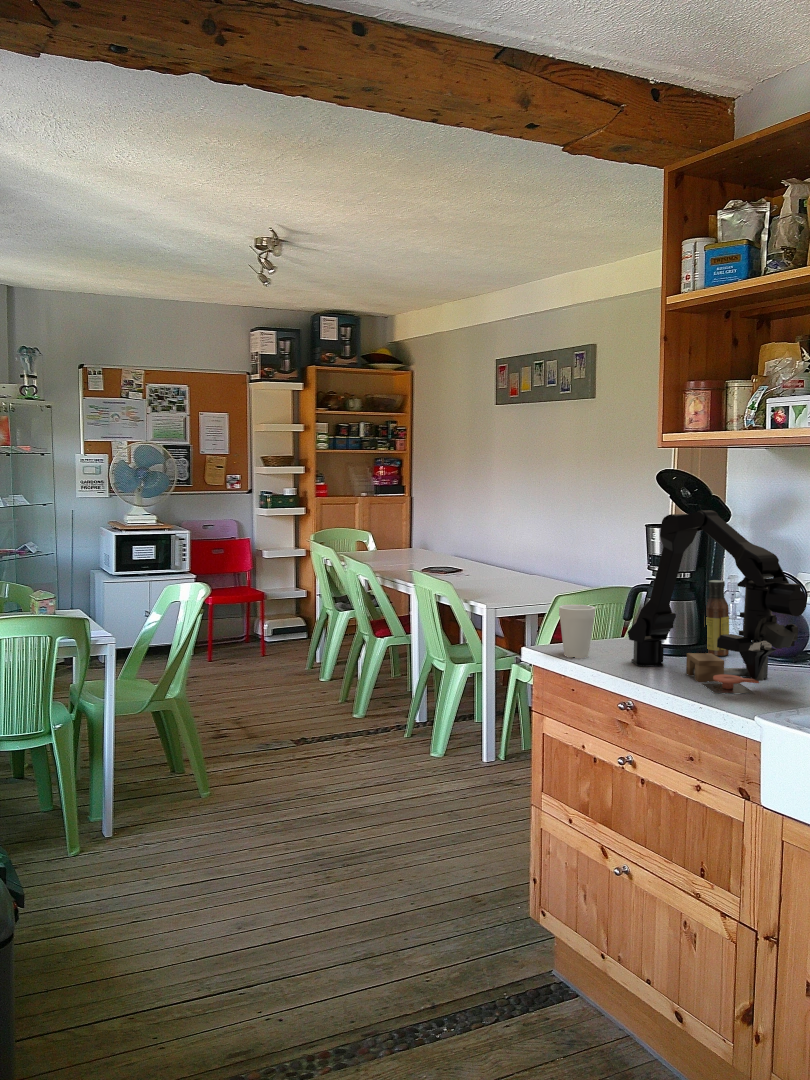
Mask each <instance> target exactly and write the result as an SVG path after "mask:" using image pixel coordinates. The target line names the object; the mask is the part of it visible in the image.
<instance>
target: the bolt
mask: <svg viewBox="0 0 810 1080" xmlns="http://www.w3.org/2000/svg"><path fill="white" fill-rule="evenodd" d="M763 667H764V672H763V679H768V676H769V675H768V672H769V670H768V669H769V657H768V656H767V657H766V659H765V661H764V663H763ZM724 674H727V675H735V676H739V677H742V678H745V677H746V678H747V677H748V678H749V679H752V678H751V676H750V674H749V672H748V669H747V667H746V666H745V667H724ZM692 677H694V678H695V668H694V669H693V676H692Z"/></svg>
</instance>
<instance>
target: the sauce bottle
mask: <svg viewBox="0 0 810 1080" xmlns="http://www.w3.org/2000/svg"><path fill="white" fill-rule="evenodd" d="M725 586H726V583H725V580H719V579H713V580H708V588H709V590H708V592H709V594H708V598H707V601H708V602H707V601H706V603H707V605H706V616H707V617H706V625H707V649H708V653H712V654H713V655H715V656H717V657H725V656H728V655H729V652H730V650H726V649H722V648H718V647H717V638H718V637H719V636H720V635H726V634H730V613H729V610H730V609H729V608H730V607H729V604H728V602H727V600H726V598H725Z"/></svg>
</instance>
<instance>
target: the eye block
mask: <svg viewBox="0 0 810 1080" xmlns="http://www.w3.org/2000/svg"><path fill="white" fill-rule="evenodd" d="M685 663H686V664H685V666H686V668H685V670H686V671H685V672H686V673H685V674H686V675H687V674H688V676H689V677H694V676H693V669H694V668H695V677H694V680H695V681H696V682H697V681H698V683H718V682H717V681H715V680H713V676H714V675H720V674H724V668H725V660H724V659H721V658H720V656H715V655H713V654H712V653H706V652H705V653H704V652H703V653H702V652H700V653H699V652H696V653H695V652H694V653H692V652H688V653H687V652H686V661H685ZM707 681H709V682H707Z"/></svg>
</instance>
